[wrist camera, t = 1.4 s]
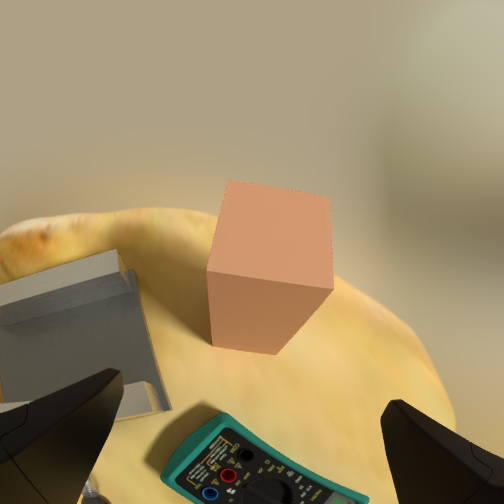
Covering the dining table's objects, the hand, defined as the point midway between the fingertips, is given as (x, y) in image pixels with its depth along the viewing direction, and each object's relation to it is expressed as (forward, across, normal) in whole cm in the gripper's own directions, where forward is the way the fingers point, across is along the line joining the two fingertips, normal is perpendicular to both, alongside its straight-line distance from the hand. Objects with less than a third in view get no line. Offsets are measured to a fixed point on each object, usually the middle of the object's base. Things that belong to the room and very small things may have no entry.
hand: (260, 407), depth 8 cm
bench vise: (+7, +13, +11) cm, 18 cm away
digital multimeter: (+5, -3, +15) cm, 16 cm away
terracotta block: (+14, 0, +4) cm, 15 cm away
